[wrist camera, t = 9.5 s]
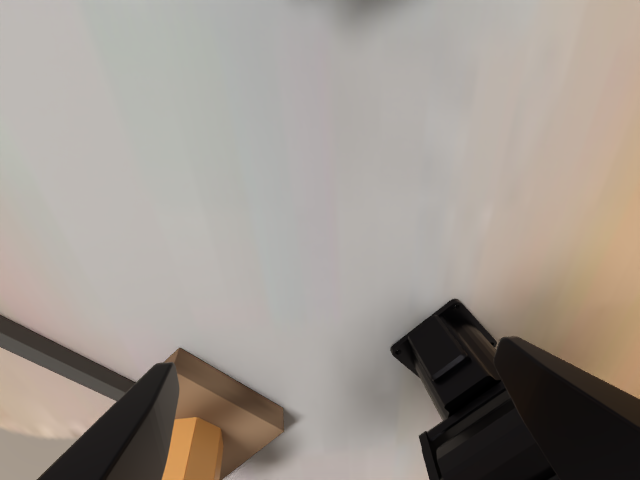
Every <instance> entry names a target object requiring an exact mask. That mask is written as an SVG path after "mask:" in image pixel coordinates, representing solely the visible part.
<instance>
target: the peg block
mask: <svg viewBox="0 0 640 480" xmlns="http://www.w3.org/2000/svg"><path fill="white" fill-rule="evenodd" d="M165 362H173V363H174V364H175V366H176V371H177V376H178V381H179V398H178V404H177V409H176V415H175V419H183V418H193V417H197V418H201V419H203V420H205V421H207V422H209V423H211V424H213V425H215V426H217V427H219V428H221V432H222V439H223V446H224V447H223V455H222V463H221V471H220V479H219V480H222V479H223V478H224V477H226V476H227V475H228V474H230V473H231V472H232V471H233V470H235V469H236V468H237V467H239V466H240V465H241V464H243V463H244V462H245V461H246V460H248V459H249V458H250V457H252V456H253V455H254V454H255V453H257V452H258V451H259V450H261V449H262V448H263V447H264V446H266V445H267V444H268V443H270V442H271V441H272V440H273V439H275V438H276V437H277V436H279V435H280V434H281V433H282V432H284V420H283V408H282V407H280V406H279V405H277V404H275V403H273V402H272V401H270V400H268V399H267V398H265V397H263V396H261V395H260V394H258V393H256V392H255V391H253V390H251V389H249V388H248V387H246V386H244V385H243V384H241V383H239V382H237V381H236V380H234V379H232V378H231V377H229V376H227V375H225V374H224V373H222V372H220V371H219V370H217V369H215V368H213V367H212V366H210V365H208V364H207V363H205V362H203V361H202V360H200V359H198V358H196V357H195V356H193V355H191V354H190V353H188V352H186V351H184V350H183V349H181V348H179V349H178V350H176V351H175V352H174V353H173V354H172V355H171V356H170V357H169V358H168V359H167V360H166V361H165ZM163 363H164V362H163Z"/></svg>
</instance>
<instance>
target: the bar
mask: <svg viewBox="0 0 640 480" xmlns="http://www.w3.org/2000/svg"><path fill="white" fill-rule="evenodd" d="M0 347H1V348H3V349H6V350H8V351H10V352H12V353H14V354H16V355H19V356H21V357H23V358H25V359H27V360H29V361H31V362H34V363H36V364H38V365H40V366H42V367H44V368H47V369H49V370H51V371H53V372H55V373H57V374H59V375H62V376H64V377H66V378H68V379H70V380H72V381H75V382H77V383H79V384H81V385H83V386H85V387H88V388H90V389H92V390H94V391H96V392H98V393H100V394H103V395H105V396H107V397H109V398H111V399H113V400H116V401H118V400H119V399H120V398H121V397H122V396H123V395H124V394H125V393H126V392H127V391H128V390H129V389H130V388H131V387H132V386H133V385H134V384H135V383H134V382H132V381H130V380H128V379H126V378H124V377H122V376H120V375H118V374H116V373H114V372H112V371H110V370H108V369H106V368H104V367H102V366H100V365H98V364H96V363H94V362H92V361H90V360H88V359H86V358H84V357H82V356H80V355H78V354H76V353H74V352H72V351H70V350H68V349H66V348H64V347H62V346H60V345H58V344H56V343H54V342H52V341H50V340H48V339H46V338H44V337H42V336H40V335H38V334H36V333H34V332H32V331H30V330H28V329H26V328H24V327H22V326H20V325H18V324H16V323H14V322H12V321H10V320H8V319H6V318H4V317H2V316H0Z"/></svg>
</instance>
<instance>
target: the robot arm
mask: <svg viewBox="0 0 640 480" xmlns="http://www.w3.org/2000/svg"><path fill="white" fill-rule="evenodd" d="M455 305H456V306H455ZM454 306H455V307H454ZM496 344H497V342H496V341H495V339H494V338H493V337H492V336H491V335H490V334H489V333H488V332H487V331H486V330H485V328H484V327H483V326H482V325H481V324H480V323H479V322H478V321H477V320H476V319H475V317H474V316H473V315H472V314H471V313H470V312H469V311H468V310H467V309H466V308H465V306H464V305H463V304H462V303H461V302H460V301H459V300H458V299H452V300H451V301H449V302H448V303H447V304H445V305H444V306H443V307H441V308H440V309H439V310H438V311H436V312H435V313H434V314H432V315H431V316H430V317H429V318H427V319H426V320H425V321H423V322H422V323H421V324H420V325H418V326H417V327H416V328H414V329H413V330H412V331H411V332H409V333H408V334H407V335H405V336H404V337H403V338H402V339H400V340H399V341H398V342H396V343H395V344H394V345H393V346H392V347H391V353H392V355H393V356H394V357H395V358H396V359H398V360H399V361H400V362H401V363H402V364H404V365H405V366H406V367H407V368H408V369H410V370H411V371H412V372H413V373H414V374H416V375H417V376H418V377H419V378H421V380H422V382H423V384H424V386H425V388H426V390H427V392H428V394H429V395H430V397H431V399H432V401H433V403H434V405H435V407H436V409H437V411H438V412H439V414H440V416H441V418H442V420H443V421H442V422H441V423H439V424H438V425H437V426H435V427H434V428H432V429H431V430H429V431H428V432H426V431H425V432H424V433H422V434H421V435H419V439H420V443H421V446H422V453H423V457H424V460H425V464H426V468H427V472H428V476H429V479H430V480H640V399H638V398H636V397H634V396H632V395H630V394H628V393H626V392H624V391H622V390H620V389H618V388H617V387H615V386H613V385H611V384H609V383H607V382H605V381H603V380H601V379H599V378H597V377H595V376H593V375H591V374H589V373H587V372H585V371H583V370H581V369H579V368H577V367H576V366H574V365H572V364H570V363H568V362H566V361H564V360H562V359H560V358H558V357H556V356H554V355H552V354H550V353H548V352H546V351H544V350H542V349H540V348H538V347H536V346H535V345H533V344H531V343H529V342H527V341H525V340H523V339H521V338H519V337H515V336H512V337H503V338H501V339H500V341H499V344H498V347H497V350H496V349H495V348H494V347H495V346H496ZM397 350H398V351H397ZM178 398H179V381H178V376H177V371H176V366H175V364H174V363H173V362H164V363H157V364H155V365H154V366H153V367H152V368H151V369H150V370H149V371H148V372H147V373H146V374H145V375H144V376H143V377H142V378H140V379H139V380H138V381H137V382H136V383H135V384H134V385H133V386H132V387H131V388H130V389H129V390H128V391H127V392H126V393H125V394H124V395H123V396H122V397H121V398H120V399H119V400H118V401H117V402H116V403H115V404H114V405H113V406H112V407H111V408H110V409H109V410H108V411H107V412H106V413H105V414H104V415H103V416H102V417H100V418H99V419H98V420H97V421H96V422H95V423H94V424H93V425H92V426H91V427H90V428H89V429H88V430H87V431H86V432H85V433H84V434H83V435H82V436H81V437H80V438H79V439H78V440H77V441H76V442H75V443H74V444H73V445H72V446H71V447H70V448H69V449H68V450H67V451H66V452H65V453H64V454H63V455H62V456H60V457H59V459H57V460H56V461H55V462H54V463H53V464H52V465H51V466H50V467H49V468H48V469H47V470H46V471H45V472H44V473H43V474H42V475H41V476H40V477H39V478H38V479H37V480H162V477H163V473H164V470H165V466H166V462H167V458H168V453H169V448H170V442H171V437H172V431H173V426H174V420H175V415H176V409H177V404H178Z"/></svg>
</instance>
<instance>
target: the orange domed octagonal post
mask: <svg viewBox="0 0 640 480" xmlns="http://www.w3.org/2000/svg"><path fill="white" fill-rule="evenodd" d="M223 447H224V446H223V439H222V432H221V428H219V427H217V426H215V425H213V424H211V423H209V422H207V421H205V420H203V419H201V418H197V417H193V418H183V419H175V420H174V426H173V431H172V437H171V442H170V448H169V453H168V458H167V462H166V466H165V470H164V473H163V477H162V480H219V479H220V471H221V463H222V455H223Z"/></svg>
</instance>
